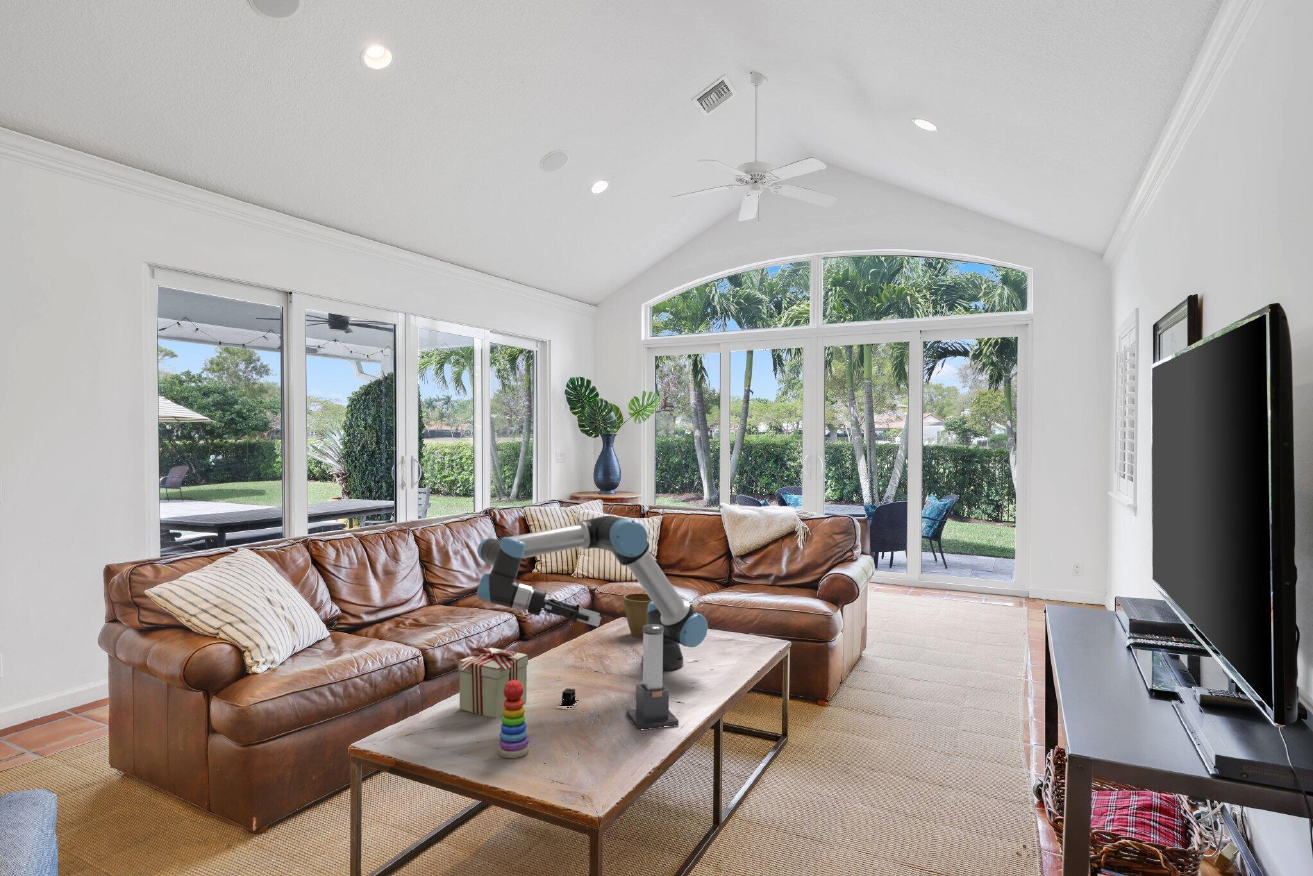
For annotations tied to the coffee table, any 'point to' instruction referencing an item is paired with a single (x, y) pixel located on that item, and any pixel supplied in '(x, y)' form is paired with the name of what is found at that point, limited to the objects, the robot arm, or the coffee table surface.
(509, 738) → the stacking toy
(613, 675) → the coffee table surface
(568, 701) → the black rectangular block
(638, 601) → the plant pot
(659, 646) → the stand post
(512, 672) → the gift box
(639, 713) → the stand base
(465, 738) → the coffee table surface
